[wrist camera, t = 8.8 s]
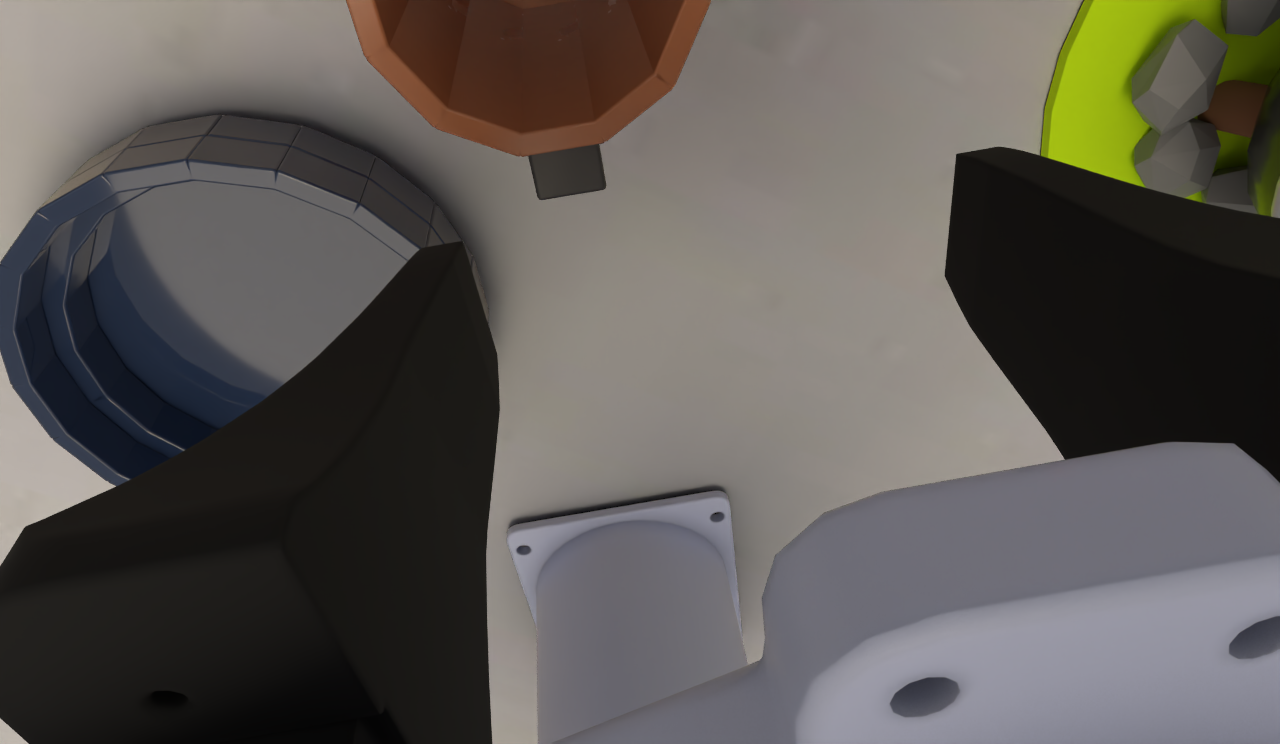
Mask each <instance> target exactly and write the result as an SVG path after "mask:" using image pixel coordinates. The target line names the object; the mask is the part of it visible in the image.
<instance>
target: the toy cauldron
mask: <svg viewBox="0 0 1280 744" xmlns="http://www.w3.org/2000/svg"><path fill="white" fill-rule="evenodd" d="M1041 156H1043V157H1046V158H1050V159H1053V160H1056V161H1060V162H1063V163H1066V164H1069V165H1073V166H1076V167H1079V168H1082V169H1086V170H1089V171H1092V172H1095V173H1098V174H1102V175H1105V176H1108V177H1111V178H1115V179H1118V180H1121V181H1125V182H1128V183H1131V184H1135V185H1138V186H1142V187H1145V188H1149V189H1152V190H1156V191H1159V192H1163V193H1167V194H1171V195H1175V196H1179V197H1182V198H1186V199H1190V200H1194V201H1198V202H1202V203H1206V204H1210V205H1215V206H1219V207H1224V208H1228V209H1233V210H1238V211H1244V212H1249V213H1254V214H1260V215H1265V216H1271V217H1276V218H1280V0H1084V2H1083V4H1082V6H1081V8H1080V10H1079V12H1078V15H1077V17H1076V19H1075V21H1074V23H1073V26H1072V28H1071V30H1070V32H1069V34H1068V36H1067V39H1066V41H1065V43H1064V45H1063V47H1062V50H1061V52H1060V55H1059V59H1058V62H1057V66H1056V69H1055V73H1054V77H1053V80H1052V84H1051V88H1050V91H1049V95H1048V98H1047V102H1046V106H1045V111H1044V123H1043V135H1042V147H1041Z"/></svg>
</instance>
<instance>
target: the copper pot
mask: <svg viewBox="0 0 1280 744" xmlns="http://www.w3.org/2000/svg"><path fill="white" fill-rule="evenodd" d="M346 2H347V5H348V8H349V11H350V14H351V17H352V20H353V23H354V26H355V29H356V33H357V36H358V39H359V42H360V45H361V48H362V51H363V54H364V56H365V57H366V59H367V61H368V62H369V63H370V64H371V65H372V66H373V67H374V68H375V69H376V70H377V71H378V72H379V73H380V74H381V75H382V76H383V77H384V78H385V79H386V80H387V81H388V82H389V83H390V84H391V85H392V86H393V87H394V88H395V89H396V90H397V91H398V92H399V93H400V94H401V95H402V96H403V97H404V98H405V99H406V100H407V101H408V102H409V103H410V104H411V105H412V106H413V107H414V108H415V109H416V110H417V111H418V112H419V113H420V114H421V115H422V116H423V117H424V118H425V119H426V120H427V121H428V122H429V123H430V124H431V125H432V126H433V127H435V128H436V129H438V130H441V131H444V132H447V133H450V134H453V135H456V136H459V137H462V138H465V139H468V140H471V141H474V142H477V143H480V144H483V145H486V146H489V147H491V148H494V149H497V150H500V151H503V152H506V153H509V154H512V155H515V156H521V157H524V156H528V157H529V162H530V166H531V170H532V175H533V179H534V184H535V188H536V193H537V197H538V198H539V200H546V199H552V198H558V197H563V196H569V195H575V194H581V193H587V192H593V191H599V190H604V189H605V188H606V181H605V175H604V169H603V163H602V157H601V151H600V146H599V144H601V143H604V141H605V142H606V141H608V140H609V139H610V138H612V137H613V136H614V135H615V134H617V133H618V132H619V131H620V130H622V129H623V128H624V127H625V126H627V125H628V124H629V123H631V122H632V121H633V120H634V119H636V118H637V117H638V116H639V115H641V114H642V113H643V112H644V111H646V110H647V109H648V108H649V107H651V106H652V105H653V104H654V103H656V102H657V101H658V100H659V99H661V98H662V97H663V96H664V95H666V94H667V93H668V92H669V91H671V90H672V88H673V87H674V86H675V85H676V82H677V80H678V78H679V75H680V73H681V71H682V68H683V66H684V64H685V61H686V59H687V57H688V54H689V52H690V50H691V47H692V45H693V43H694V40H695V38H696V36H697V33H698V31H699V29H700V26H701V24H702V22H703V19H704V17H705V15H706V12H707V10H708V8H709V5H710V3H711V0H346Z"/></svg>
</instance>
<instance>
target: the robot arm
mask: <svg viewBox="0 0 1280 744" xmlns="http://www.w3.org/2000/svg"><path fill="white" fill-rule="evenodd" d="M945 278H946V280H947V282H948V284H949V286H950V288H951V290H952V292H953V294H954V297H955V299H956V301H957V303H958V305H959V307H960V309H961V311H962V312H963V314H964V316H965V318H966V320H967V322H968V324H969V326H970V327H971V329H972V330H973V332H974V333H975V334H976V336H977V337H978V339H979V340H980V342H981V343H982V344H983V346H984V347H985V348H986V350H987V351H988V353H989V354H990V355H991V357H992V358H993V360H994V361H995V362H996V364H997V365H998V366H999V368H1000V369H1001V370H1002V372H1003V373H1004V374H1005V376H1006V377H1007V379H1008V380H1009V381H1010V383H1011V384H1012V385H1013V387H1014V388H1015V389H1016V391H1017V392H1018V393H1019V395H1020V396H1021V397H1022V399H1023V400H1024V401H1025V403H1026V404H1027V405H1028V407H1029V408H1030V410H1031V411H1032V412H1033V414H1034V415H1035V416H1036V418H1037V419H1038V420H1039V422H1040V423H1041V424H1042V426H1043V427H1044V428H1045V430H1046V431H1047V433H1048V434H1049V436H1050V437H1051V439H1052V440H1053V442H1054V443H1055V445H1056V446H1057V448H1058V449H1059V451H1060V452H1061V454H1062V455H1063V457H1064V459H1065V460H1061V461H1055V462H1050V463H1044V464H1038V465H1033V466H1027V467H1021V468H1015V469H1010V470H1004V471H998V472H993V473H987V474H981V475H976V476H970V477H964V478H958V479H953V480H947V481H941V482H936V483H930V484H924V485H918V486H913V487H907V488H901V489H896V490H890V491H884V492H880V493H877V494H875V495H872V496H869V497H866V498H863V499H861V500H858V501H855V502H852V503H850V504H847V505H844V506H841V507H839V508H836V509H833V510H830V511H827V512H825V513H823V514H822V515H821V516H820V517H818V518H817V519H816V520H815V521H814V522H813V523H812V524H810V525H809V526H808V527H807V528H806V529H805V530H804V531H802V532H801V533H800V534H799V535H798V536H797V537H795V538H794V539H793V540H792V541H791V542H790V543H789V544H787V545H786V546H785V547H784V548H783V549H782V550H781V551H780V552H779V553H778V554H776V555H775V558H774V561H773V565H772V568H771V571H770V574H769V577H768V580H767V583H766V586H765V589H764V593H763V596H762V606H763V619H764V631H765V643H764V650H763V657H762V659H761V660H759V661H757V662H754V663H752V664H749V665H748V662H747V658H746V654H745V649H744V645H743V636H742V626H741V615H740V605H739V594H738V584H737V573H736V563H735V553H734V542H733V532H732V521H731V511H730V503H729V499H728V496H727V494H725V493H724V492H722V491H709V492H703V493H697V494H692V495H686V496H680V497H674V498H668V499H662V500H656V501H650V502H645V503H639V504H633V505H627V506H621V507H615V508H609V509H603V510H598V511H592V512H586V513H580V514H574V515H568V516H562V517H556V518H551V519H545V520H539V521H533V522H527V523H521V524H517V525H514V526H512V527H510V528H509V529H508V531H507V544H508V547H509V550H510V553H511V556H512V559H513V562H514V564H515V567H516V570H517V573H518V576H519V579H520V582H521V585H522V588H523V591H524V593H525V596H526V599H527V602H528V605H529V608H530V611H531V614H532V617H533V619H534V622H535V625H536V628H537V719H538V744H1280V218H1276V217H1271V216H1265V215H1260V214H1254V213H1249V212H1244V211H1238V210H1233V209H1228V208H1224V207H1219V206H1215V205H1210V204H1206V203H1202V202H1198V201H1194V200H1190V199H1186V198H1182V197H1179V196H1175V195H1171V194H1167V193H1163V192H1159V191H1156V190H1152V189H1149V188H1145V187H1142V186H1138V185H1135V184H1131V183H1128V182H1125V181H1121V180H1118V179H1115V178H1111V177H1108V176H1105V175H1102V174H1098V173H1095V172H1092V171H1089V170H1086V169H1082V168H1079V167H1076V166H1073V165H1069V164H1066V163H1063V162H1060V161H1056V160H1053V159H1050V158H1046V157H1043V156H1039V155H1036V154H1032V153H1029V152H1024V151H1020V150H1016V149H1011V148H1005V147H994V148H988V149H982V150H976V151H971V152H965V153H959V154H956V164H955V174H954V184H953V195H952V205H951V215H950V226H949V236H948V246H947V257H946V267H945ZM499 411H500V404H499V378H498V360H497V352H496V349H495V345H494V342H493V339H492V335H491V332H490V329H489V325H488V322H487V319H486V316H485V312H484V309H483V306H482V302H481V299H480V296H479V292H478V289H477V286H476V282H475V279H474V276H473V272H472V269H471V266H470V263H469V259H468V256H467V253H466V249H465V246H464V243H463V241H458V242H452V243H446V244H441V245H435V246H429V247H424V248H421V249H420V250H418V251H417V252H416V253H415V254H414V255H413V256H412V257H411V258H410V259H409V260H408V262H407V263H406V264H405V265H404V266H403V267H402V268H401V269H400V270H399V272H398V273H397V274H396V275H395V276H394V277H393V278H392V280H391V281H390V282H389V283H388V284H387V285H386V286H385V287H384V289H383V290H382V291H381V292H380V293H379V294H378V295H377V296H376V297H375V298H374V300H373V301H372V302H371V303H370V304H369V305H368V306H367V307H366V308H365V309H364V311H363V312H362V313H361V314H360V315H359V316H358V317H357V318H356V319H355V320H354V321H353V322H352V323H351V324H350V325H349V326H348V327H347V328H346V329H345V330H344V331H343V332H342V333H341V334H340V335H339V336H338V337H337V338H336V339H335V340H333V341H332V342H331V343H330V344H329V345H328V346H327V347H326V348H325V349H324V350H323V351H322V352H321V353H320V354H319V355H318V356H317V357H316V358H315V359H314V360H312V361H311V362H310V363H309V364H308V365H307V366H306V367H304V368H303V369H302V370H301V371H300V372H298V373H297V374H296V375H295V376H294V377H292V378H291V379H290V380H288V381H287V382H286V383H285V384H283V385H282V386H281V387H280V388H278V389H277V390H276V391H274V392H273V393H272V394H271V395H269V396H268V397H267V398H265V399H264V400H262V401H261V402H260V403H258V404H257V405H255V406H254V407H252V408H251V409H249V410H248V411H246V412H245V413H243V414H242V415H240V416H239V417H237V418H236V419H234V420H233V421H231V422H230V423H228V424H227V425H225V426H223V427H222V428H220V429H219V430H217V431H216V432H214V433H213V434H211V435H210V436H208V437H207V438H205V439H203V440H202V441H200V442H198V443H197V444H195V445H193V446H192V447H190V448H188V449H186V450H185V451H183V452H181V453H179V454H178V455H176V456H174V457H172V458H171V459H169V460H167V461H165V462H163V463H161V464H159V465H157V466H155V467H154V468H152V469H150V470H148V471H146V472H144V473H142V474H140V475H138V476H137V477H135V478H133V479H131V480H128V481H126V482H124V483H122V484H120V485H118V486H116V487H114V488H112V489H110V490H108V491H105V492H103V493H101V494H99V495H97V496H94V497H92V498H90V499H88V500H85V501H83V502H81V503H79V504H77V505H74V506H72V507H70V508H68V509H65V510H63V511H61V512H59V513H56V514H54V515H52V516H50V517H48V518H45V519H43V520H40V521H38V522H36V523H33V524H31V525H28V526H26V527H25V528H24V529H23V531H22V532H21V534H20V536H19V537H18V539H17V541H16V542H15V544H14V545H13V547H12V548H11V550H10V552H9V553H8V555H7V556H6V558H5V560H4V561H3V563H2V564H1V566H0V718H1V719H2V720H3V721H4V722H5V723H6V724H8V725H9V726H10V727H11V728H12V729H13V730H14V731H15V732H16V733H18V734H19V735H20V736H21V737H22V738H23V739H24V740H25V741H27V742H28V743H29V744H492V729H491V709H490V689H489V664H488V632H487V585H486V548H487V529H488V519H489V510H490V500H491V491H492V481H493V472H494V462H495V453H496V443H497V433H498V422H499ZM716 512H720V513H718V514H713V513H716ZM522 545H527V546H526V547H521V546H522Z"/></svg>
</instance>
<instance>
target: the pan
mask: <svg viewBox="0 0 1280 744" xmlns="http://www.w3.org/2000/svg"><path fill="white" fill-rule="evenodd" d="M458 241H462V239H461V238H460V237H459V235H458V234H457V232H456V231H455V229H454V228H453V227H452V225H451V224H450V222H449V221H448V220H447V218H446V217H445V215H444V214H443V212H442V211H441V210H440V208H439V207H438V205H437V204H436V203H434V201H433V200H432V199H431V198H430V197H428V196H427V195H426V194H425V193H423V192H422V191H421V190H420V189H418V188H417V187H416V186H414V185H413V184H412V183H411V182H409V181H408V180H407V179H406V178H404V177H403V176H402V175H400V174H399V173H398V172H397V171H395V170H394V169H393V168H392V167H390V166H389V165H388V164H386V163H385V162H384V161H383V160H381V159H380V158H379V157H375V155H374V154H371V153H369V152H366V151H364V150H362V149H359V148H357V147H355V146H352V145H350V144H347V143H345V142H343V141H340V140H338V139H336V138H333V137H331V136H328V135H326V134H324V133H321V132H319V131H317V130H314V129H312V128H309V127H307V126H302V127H301V125H298V124H291V123H283V122H275V121H268V120H260V119H252V118H245V117H237V116H230V115H224V116H222V114H217V115H211V116H205V117H199V118H193V119H187V120H182V121H176V122H170V123H164V124H158V125H152V126H148V127H147V128H143V129H141V130H139V131H138V132H136V133H134V134H132V135H131V136H129V137H127V138H125V139H124V140H122V141H120V142H118V143H117V144H115V145H113V146H112V147H110V148H108V149H106V150H105V151H103V152H101V153H99V154H98V155H96V156H94V157H92V158H91V159H89V160H88V161H87V162H85V163H84V164H83V165H82V166H81V167H80V168H79V169H78V170H77V171H76V172H75V173H74V174H73V175H72V176H71V177H70V178H69V179H68V180H67V181H66V182H65V183H64V184H63V185H62V186H61V187H60V188H59V189H58V190H57V191H56V192H55V193H54V194H53V195H52V196H51V197H50V198H49V199H48V200H47V201H46V202H45V203H44V204H43V205H42V206H41V207H40V208H39V209H38V210H37V211H36V212H35V213H34V215H33V216H32V217H31V219H30V220H29V222H28V223H27V225H26V226H25V227H24V229H23V230H22V232H21V233H20V234H19V236H18V237H17V239H16V240H15V242H14V243H13V244H12V246H11V247H10V249H9V250H8V252H7V253H6V254H5V256H4V257H3V259H2V260H1V262H0V352H1V355H2V359H3V362H4V365H5V368H6V371H7V374H8V377H9V380H10V383H11V385H12V387H13V389H14V390H15V391H16V393H17V394H18V395H19V397H20V398H21V399H22V401H23V402H24V403H25V404H26V406H27V407H28V408H29V410H30V411H31V412H32V414H33V415H34V416H35V418H36V419H37V420H38V422H39V423H40V424H41V426H42V427H43V428H44V429H45V431H46V432H47V433H48V435H49V436H50V437H51V438H53V440H54V441H55V442H56V443H57V444H59V445H60V446H61V447H63V448H64V449H65V450H67V451H68V452H69V453H70V454H72V455H73V456H74V457H76V458H77V459H78V460H79V461H81V462H82V463H83V464H85V465H86V466H87V467H89V468H90V469H91V470H92V471H94V472H95V473H96V474H98V475H99V476H100V477H102V478H103V479H104V480H105V481H108V482H109V483H111V484H113V485H115V486H118V485H120V484H122V483H124V482H126V481H128V480H131V479H133V478H135V477H137V476H138V475H140V474H142V473H144V472H146V471H148V470H150V469H152V468H154V467H155V466H157V465H159V464H161V463H163V462H165V461H167V460H169V459H171V458H172V457H174V456H176V455H178V454H179V453H181V452H183V451H185V450H186V449H188V448H190V447H192V446H193V445H195V444H197V443H198V442H200V441H202V440H203V439H205V438H207V437H208V436H210V435H211V434H213V433H214V432H216V431H217V430H219V429H220V428H222V427H223V426H225V425H227V424H228V423H230V422H231V421H233V420H234V419H236V418H237V417H239V416H240V415H242V414H243V413H245V412H246V411H248V410H249V409H251V408H252V407H254V406H255V405H257V404H258V403H260V402H261V401H262V400H264V399H265V398H267V397H268V396H269V395H271V394H272V393H273V392H274V391H276V390H277V389H278V388H280V387H281V386H282V385H283V384H285V383H286V382H287V381H288V380H290V379H291V378H292V377H294V376H295V375H296V374H297V373H298V372H300V371H301V370H302V369H303V368H304V367H306V366H307V365H308V364H309V363H310V362H311V361H312V360H314V359H315V358H316V357H317V356H318V355H319V354H320V353H321V352H322V351H323V350H324V349H325V348H326V347H327V346H328V345H329V344H330V343H331V342H332V341H333V340H335V339H336V338H337V337H338V336H339V335H340V334H341V333H342V332H343V331H344V330H345V329H346V328H347V327H348V326H349V325H350V324H351V323H352V322H353V321H354V320H355V319H356V318H357V317H358V316H359V315H360V314H361V313H362V312H363V311H364V309H365V308H366V307H367V306H368V305H369V304H370V303H371V302H372V301H373V300H374V298H375V297H376V296H377V295H378V294H379V293H380V292H381V291H382V290H383V289H384V287H385V286H386V285H387V284H388V283H389V282H390V281H391V280H392V278H393V277H394V276H395V275H396V274H397V273H398V272H399V270H400V269H401V268H402V267H403V266H404V265H405V264H406V263H407V262H408V260H409V259H410V258H411V257H412V256H413V255H414V254H415V253H416V252H417V251H418V250H420V249H421V248H424V247H429V246H435V245H441V244H446V243H452V242H458ZM463 243H464V242H463ZM464 246H465V249H466V253H467V256H468V259H469V263H470V266H471V269H472V272H473V276H474V279H475V282H476V286H477V289H478V292H479V296H480V299H481V302H482V306H483V309H484V312H485V316H486V319H487V322H488V321H489V308H488V305H487V301H486V298H485V294H484V291H483V287H482V284H481V281H480V277H479V274H478V270H477V267H476V263H475V260H474V257H473V256H472V254H471V252H470V251H469V249H468V248H467V246H466V245H465V244H464Z"/></svg>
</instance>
